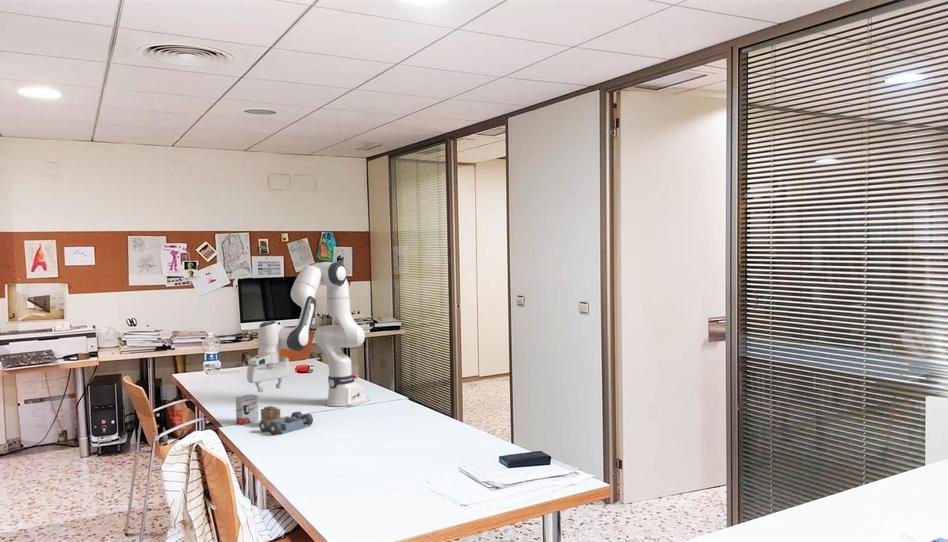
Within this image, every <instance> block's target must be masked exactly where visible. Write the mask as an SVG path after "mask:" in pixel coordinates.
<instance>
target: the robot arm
mask: <svg viewBox="0 0 948 542" xmlns="http://www.w3.org/2000/svg"><path fill="white" fill-rule="evenodd" d="M347 271H348V270H347V269H346V266H345V265H344V264H343V263H340V262H338V261H337V262H333V261H322V262H314V263H310V264H308V265H304V267H303V268H302V269H301V270H300V272H299V273H298V275H297V276H296V278H295V280H294V283H293V285H292V287H291V290H290V298H291V300H292V301H293V302H294V303H295V304H296V305H297V306H299V307H300V308H301V312H300V316H299V319H298V322H297V325H296V326H295V327H287V326H283V325H281V324H280V323H278V322H277V321H276V320H269V321H263V322H261V323H260V324H259V326H258V330H257V345H258V350H257V355H254V356H253V357H251V358H249V359H248V361H247V364H248V367H247V369H246V370H247V371H246V379H247V382H248V383H250V384H254V385H255V386H256V388H257V392H258V393H263V392H264V387H262V386H261V385H262V384H261V383H262V382H267V381H272V380H277V383H276V384H275V388H276V389H282V383H283V381H284V378H289V377H290V375H291V367H290V359H289V358H288V356H286V355H285V356H280V349H283V350H291V351H295V352H296V351H297V352H300V351H303V350H304V349H305V348H307V346H308V344H309V341H310V334H311V333H310V332H311V328H312V324H313V321H314V317H315V315H316V314H315V313H316V310H317V309H316V308H317V300H316V294H317V292H318V290H319V286H321V285H322V286H326V310H327V311H326V312H327V314H328V315H329V316H330V317H331V319H334V320H336V322H337V324H338V325H337V324H335V325H331V324H328V325H322V326H318V327H317V328H316V330H315V331H314V333H313V340H314V342H315V345H317V346H318V347H319V348H321V350H322V351H323V352H324V353H325V355H326V358H327V363H328V378H327V379H328V380H327V381H328V394H327V395H328V396H327V400H326V405H327V406H330V407H348V406H349V407H351V406H353V407H354V406H358V405H360V404H362V403H363V404H364V403H366V402H368V401H370V400H371V397H370V396H367V395H366V391H365V387H363V386H362V385H360V384H359V382H356V381H355V379H356V380H357V379H359V375H358V374H352V372H353V369H352V359H351V358H350V357H349V355H347V354H345V353H343V352H342V349H341V348H351V349H352V348H356V347H360V346H362V345H363V343H365V339H366V334H365V330H364V328H362V326H360V325H359V324H358V323H357V322H356V321H355V320H354V317H353V315H352V312H351V301H350V299H351V298H350V288H349V287H350V286H349V282H348V279H347V277H348V276H347V275H348V272H347Z"/></svg>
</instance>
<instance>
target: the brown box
mask: <svg viewBox="0 0 948 542" xmlns="http://www.w3.org/2000/svg"><path fill="white" fill-rule="evenodd" d="M279 418H281V408H278V407H277V406H272V405H269V406H264V407H263V408H262V409H260V421H262V420H266V419H268V420H269V421H271V420H275V419H279Z"/></svg>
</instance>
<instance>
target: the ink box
mask: <svg viewBox="0 0 948 542" xmlns="http://www.w3.org/2000/svg"><path fill="white" fill-rule="evenodd" d="M235 414H236V415H235V417H236V422H235V424H238V425H242V426H243V425H244V426H245V425H248V424H252V423H256V422H259V395H256V394H253V393H251V394H250V393H249V394H246V395H245V394H244V395H241V396H236V397H235Z"/></svg>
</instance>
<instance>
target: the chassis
mask: <svg viewBox="0 0 948 542" xmlns="http://www.w3.org/2000/svg"><path fill="white" fill-rule="evenodd" d="M313 422H314V418H313V415H312V414H311V413H310V412H309V413H305V414H302V412H301V411H299V410H298V411H294V412H292V413H291V415H290V416H283V417H280V418H279V419H275V420H271V421H269V420H268V419H266V420H262V421H261V420H260V422H259V431H261V432H262V433H267V432H270V433H271V435H272V436H274V435H275V436H276V435H278V434H280V435H285V434H288V433H291V432H295V431H299V430H303V429H305V428H309V426H310V425H311V426H312V424H313Z"/></svg>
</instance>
